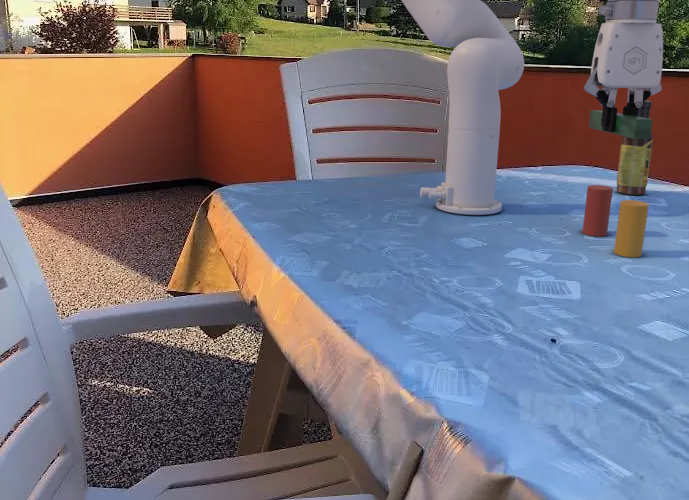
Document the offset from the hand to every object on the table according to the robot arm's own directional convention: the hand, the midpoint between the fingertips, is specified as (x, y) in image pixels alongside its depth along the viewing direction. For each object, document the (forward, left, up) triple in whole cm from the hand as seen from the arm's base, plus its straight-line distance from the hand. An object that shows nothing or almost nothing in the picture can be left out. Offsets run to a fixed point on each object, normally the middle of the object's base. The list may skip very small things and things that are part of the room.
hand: (617, 130), depth 117 cm
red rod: (-2, -1, -17) cm, 17 cm away
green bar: (0, 0, 0) cm, 0 cm away
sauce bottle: (+21, +33, -17) cm, 43 cm away
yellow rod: (-2, -13, -17) cm, 22 cm away
